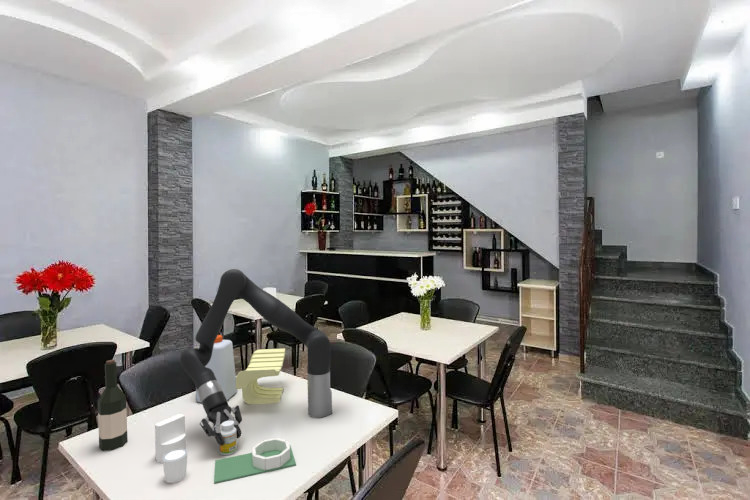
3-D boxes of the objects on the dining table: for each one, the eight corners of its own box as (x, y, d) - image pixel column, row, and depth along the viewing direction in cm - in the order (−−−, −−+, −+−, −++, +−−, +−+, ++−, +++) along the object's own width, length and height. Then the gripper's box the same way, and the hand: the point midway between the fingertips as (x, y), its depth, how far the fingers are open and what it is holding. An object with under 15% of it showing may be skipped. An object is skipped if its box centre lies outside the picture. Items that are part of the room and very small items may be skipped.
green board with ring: (290, 446, 132) (290, 434, 132) (296, 465, 121) (295, 453, 121) (215, 461, 124) (215, 449, 123) (214, 483, 112) (213, 470, 112)
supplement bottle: (222, 447, 132) (222, 419, 132) (238, 446, 133) (238, 418, 132) (217, 456, 127) (217, 427, 126) (234, 455, 127) (233, 426, 127)
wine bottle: (97, 453, 129) (93, 366, 128) (101, 442, 137) (98, 359, 136) (126, 447, 133) (123, 362, 132) (128, 436, 140) (125, 355, 139)
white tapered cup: (177, 485, 112) (177, 462, 112) (157, 482, 113) (156, 459, 113) (193, 471, 119) (192, 449, 118) (174, 469, 120) (173, 447, 120)
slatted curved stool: (252, 385, 187) (252, 349, 187) (285, 384, 189) (285, 348, 188) (236, 413, 158) (235, 371, 157) (275, 411, 159) (274, 369, 158)
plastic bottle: (240, 390, 181) (238, 332, 180) (224, 404, 166) (222, 341, 165) (210, 389, 183) (208, 332, 182) (191, 403, 168) (189, 340, 167)
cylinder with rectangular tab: (165, 466, 122) (164, 429, 121) (150, 457, 127) (149, 422, 126) (191, 452, 129) (190, 417, 129) (176, 444, 134) (175, 411, 134)
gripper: (195, 398, 128) (214, 444, 121) (234, 384, 139) (254, 427, 132) (188, 409, 132) (206, 455, 125) (227, 395, 143) (246, 437, 136)
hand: (231, 440), depth 128 cm, fingers closed on supplement bottle, 5 cm apart
